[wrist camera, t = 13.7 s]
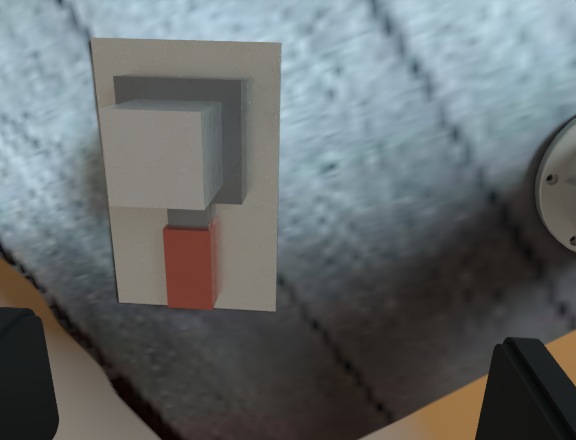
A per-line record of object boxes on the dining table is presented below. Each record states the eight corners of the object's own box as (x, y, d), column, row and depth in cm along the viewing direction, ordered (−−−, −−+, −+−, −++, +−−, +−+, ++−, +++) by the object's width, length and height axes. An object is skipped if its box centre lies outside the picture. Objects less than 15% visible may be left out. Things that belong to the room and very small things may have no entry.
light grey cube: (221, 101, 33) (200, 112, 27) (223, 184, 35) (204, 210, 29) (137, 98, 33) (99, 108, 27) (143, 181, 35) (109, 206, 29)
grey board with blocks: (281, 42, 34) (272, 40, 27) (276, 308, 41) (267, 356, 35) (93, 37, 35) (40, 34, 28) (121, 299, 42) (84, 345, 36)
